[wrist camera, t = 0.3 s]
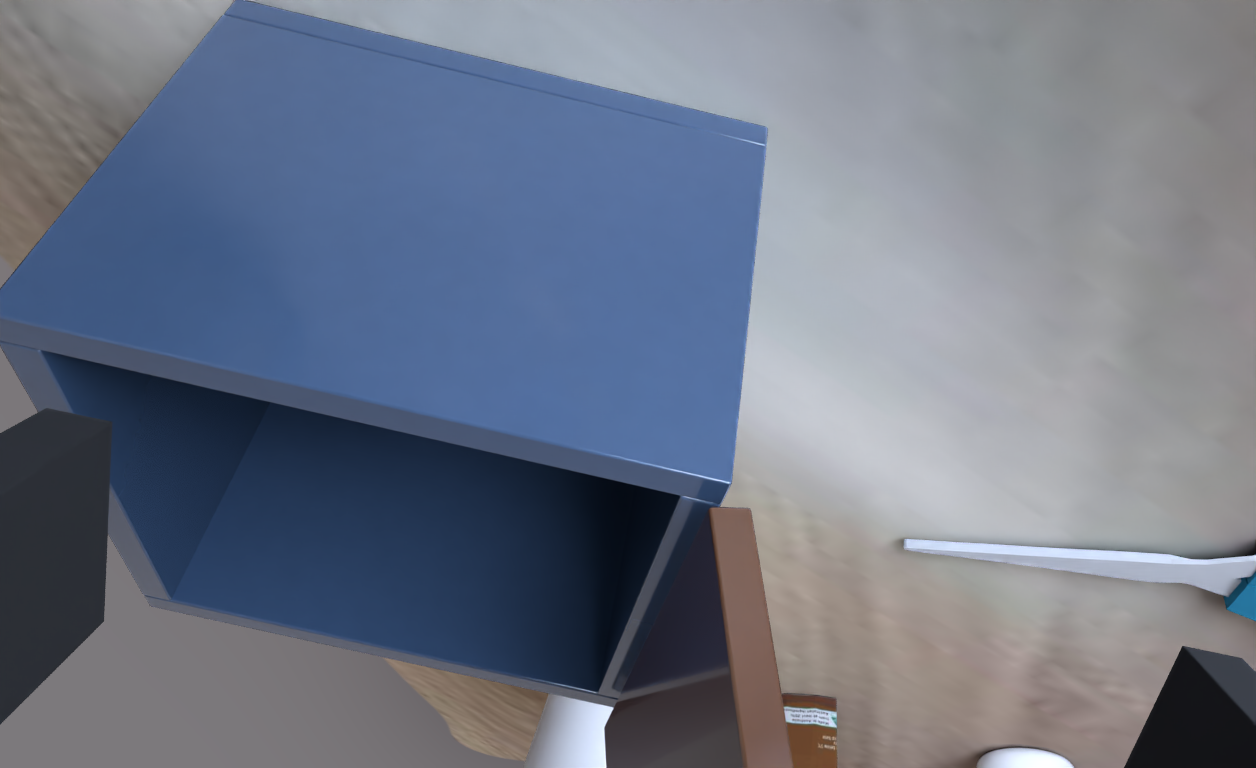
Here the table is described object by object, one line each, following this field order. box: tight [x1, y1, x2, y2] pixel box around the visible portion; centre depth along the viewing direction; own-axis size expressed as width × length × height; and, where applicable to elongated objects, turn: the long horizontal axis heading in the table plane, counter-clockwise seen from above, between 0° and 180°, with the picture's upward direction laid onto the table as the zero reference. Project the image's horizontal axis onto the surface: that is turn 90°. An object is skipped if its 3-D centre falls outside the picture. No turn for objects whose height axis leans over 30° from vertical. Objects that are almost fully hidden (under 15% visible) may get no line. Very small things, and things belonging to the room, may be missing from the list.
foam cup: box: [523, 694, 613, 768], centre depth 40 cm, size 10×9×13 cm
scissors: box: [904, 539, 1256, 621], centre depth 35 cm, size 7×1×20 cm
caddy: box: [0, 0, 768, 708], centre depth 25 cm, size 14×13×11 cm
